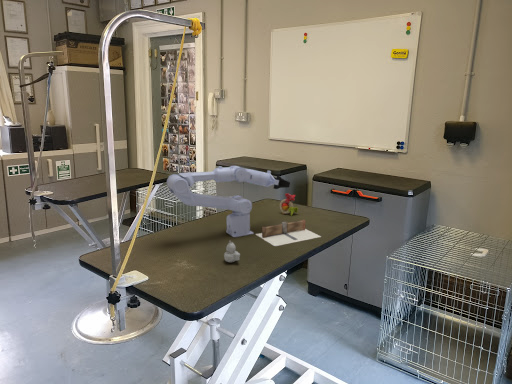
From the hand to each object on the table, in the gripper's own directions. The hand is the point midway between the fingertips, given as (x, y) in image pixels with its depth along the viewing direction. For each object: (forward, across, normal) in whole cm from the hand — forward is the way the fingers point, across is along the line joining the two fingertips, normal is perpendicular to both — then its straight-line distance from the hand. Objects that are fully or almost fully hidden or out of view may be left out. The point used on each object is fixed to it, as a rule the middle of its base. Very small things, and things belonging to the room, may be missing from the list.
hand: (284, 183), depth 174 cm
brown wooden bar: (+6, -8, +18) cm, 21 cm away
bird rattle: (+16, +16, +15) cm, 27 cm away
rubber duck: (-29, -25, +30) cm, 49 cm away
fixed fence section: (-4, -9, +21) cm, 23 cm away
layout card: (0, -11, +21) cm, 23 cm away
